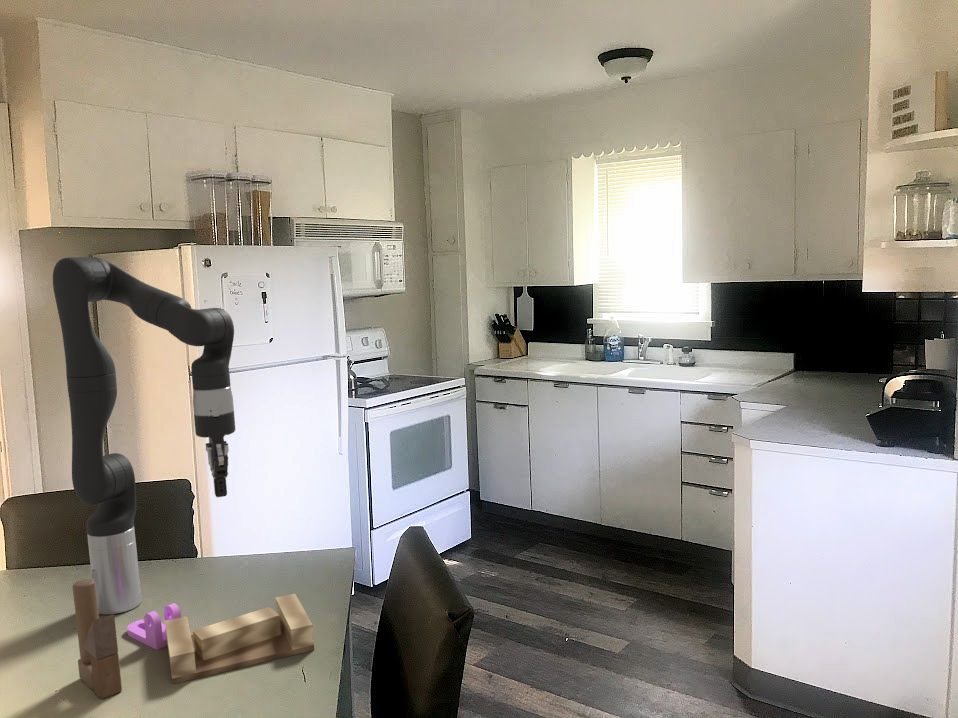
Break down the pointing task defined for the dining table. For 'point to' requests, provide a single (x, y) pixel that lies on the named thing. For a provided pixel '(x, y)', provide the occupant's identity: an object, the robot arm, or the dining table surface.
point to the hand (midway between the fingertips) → (221, 495)
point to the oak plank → (236, 633)
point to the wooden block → (96, 642)
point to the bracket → (153, 627)
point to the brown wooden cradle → (290, 642)
